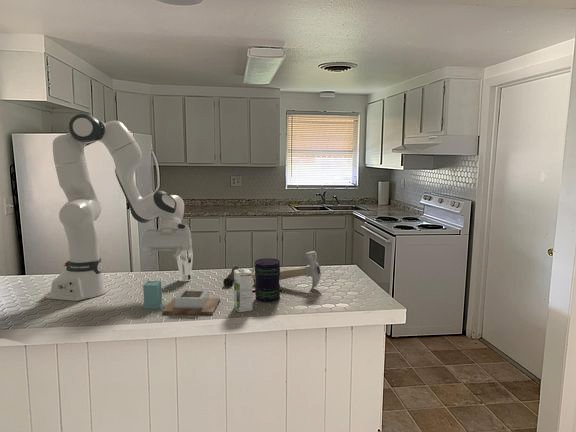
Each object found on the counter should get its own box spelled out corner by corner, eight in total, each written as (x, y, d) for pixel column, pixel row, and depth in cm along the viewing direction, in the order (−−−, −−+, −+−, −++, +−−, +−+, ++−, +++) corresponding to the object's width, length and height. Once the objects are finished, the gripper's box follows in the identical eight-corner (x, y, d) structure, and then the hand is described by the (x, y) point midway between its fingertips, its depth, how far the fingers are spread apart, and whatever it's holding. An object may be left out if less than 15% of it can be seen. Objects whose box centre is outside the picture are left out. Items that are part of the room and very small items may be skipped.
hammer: (248, 262, 190) (313, 252, 178) (253, 260, 194) (316, 250, 182) (256, 297, 191) (321, 290, 179) (261, 294, 195) (324, 286, 183)
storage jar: (268, 292, 180) (268, 257, 177) (285, 298, 173) (285, 261, 170) (249, 298, 173) (249, 261, 170) (266, 304, 166) (266, 266, 163)
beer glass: (191, 282, 194) (190, 249, 192) (175, 282, 194) (174, 249, 192) (195, 277, 201) (193, 245, 199) (179, 277, 201) (178, 245, 199)
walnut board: (162, 314, 156) (162, 311, 156) (174, 301, 170) (173, 298, 170) (212, 314, 155) (212, 311, 155) (220, 301, 169) (220, 298, 169)
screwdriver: (249, 280, 185) (257, 263, 215) (241, 280, 186) (250, 263, 215) (249, 288, 186) (257, 270, 216) (241, 288, 186) (250, 270, 216)
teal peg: (144, 308, 162) (143, 285, 161) (149, 304, 167) (147, 281, 165) (157, 308, 162) (156, 285, 160) (162, 304, 167) (161, 281, 165)
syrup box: (233, 307, 163) (232, 269, 160) (248, 305, 165) (248, 268, 163) (237, 312, 157) (236, 273, 155) (253, 310, 159) (252, 272, 157)
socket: (175, 309, 158) (174, 298, 157) (182, 299, 168) (182, 289, 167) (202, 309, 157) (202, 298, 157) (208, 300, 167) (208, 289, 167)
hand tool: (232, 287, 187) (232, 276, 187) (223, 287, 188) (223, 276, 187) (243, 275, 206) (242, 265, 205) (234, 274, 206) (234, 265, 206)
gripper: (142, 225, 181) (134, 254, 173) (191, 225, 181) (186, 254, 172) (146, 234, 186) (139, 262, 178) (194, 234, 186) (189, 262, 177)
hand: (163, 258), depth 175 cm, fingers open, 8 cm apart
